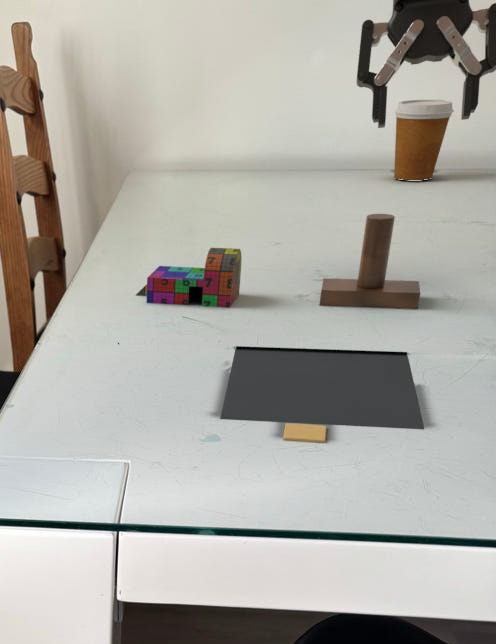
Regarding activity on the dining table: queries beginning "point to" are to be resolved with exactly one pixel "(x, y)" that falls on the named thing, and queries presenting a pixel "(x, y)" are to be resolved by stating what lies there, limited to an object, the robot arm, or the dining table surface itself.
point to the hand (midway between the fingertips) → (423, 122)
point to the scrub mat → (322, 387)
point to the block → (198, 281)
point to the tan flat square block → (304, 433)
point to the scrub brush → (372, 274)
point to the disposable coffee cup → (419, 137)
